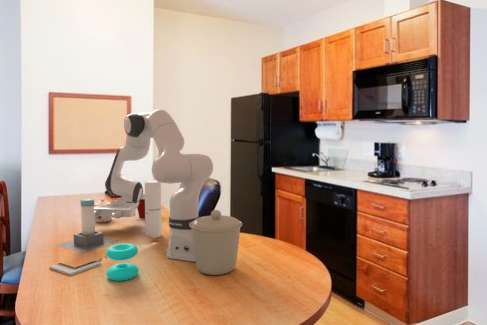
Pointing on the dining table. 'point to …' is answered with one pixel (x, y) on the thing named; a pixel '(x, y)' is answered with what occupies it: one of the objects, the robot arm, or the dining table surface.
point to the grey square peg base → (88, 242)
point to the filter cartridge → (87, 217)
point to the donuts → (122, 269)
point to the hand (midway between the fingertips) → (103, 215)
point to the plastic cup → (141, 207)
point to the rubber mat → (73, 270)
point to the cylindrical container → (153, 208)
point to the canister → (216, 243)
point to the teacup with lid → (102, 218)
